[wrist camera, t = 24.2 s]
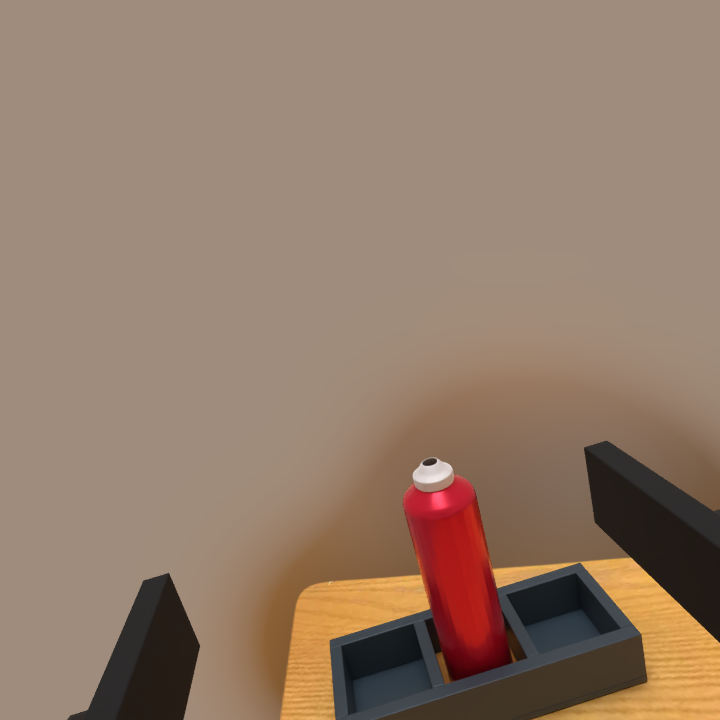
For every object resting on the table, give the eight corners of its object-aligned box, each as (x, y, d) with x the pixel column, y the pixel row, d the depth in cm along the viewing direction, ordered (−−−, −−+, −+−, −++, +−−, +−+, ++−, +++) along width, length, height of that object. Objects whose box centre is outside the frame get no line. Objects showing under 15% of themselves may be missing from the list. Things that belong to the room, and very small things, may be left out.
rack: (647, 681, 39) (641, 634, 38) (352, 777, 38) (336, 731, 36) (586, 603, 47) (580, 562, 46) (342, 679, 46) (329, 639, 45)
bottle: (516, 705, 39) (465, 478, 33) (446, 702, 40) (386, 485, 35) (514, 645, 44) (469, 439, 38) (451, 645, 45) (400, 447, 40)
